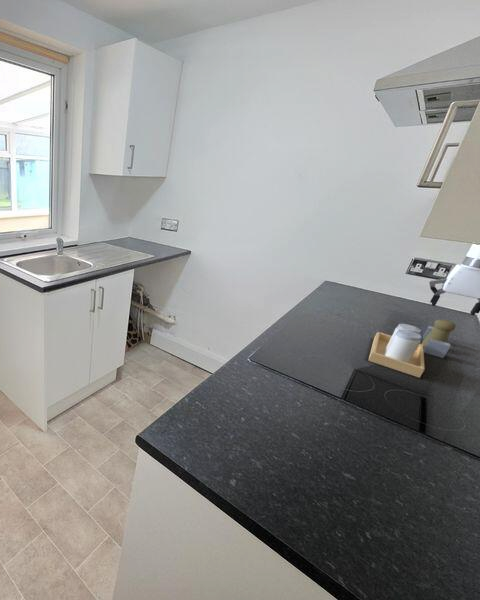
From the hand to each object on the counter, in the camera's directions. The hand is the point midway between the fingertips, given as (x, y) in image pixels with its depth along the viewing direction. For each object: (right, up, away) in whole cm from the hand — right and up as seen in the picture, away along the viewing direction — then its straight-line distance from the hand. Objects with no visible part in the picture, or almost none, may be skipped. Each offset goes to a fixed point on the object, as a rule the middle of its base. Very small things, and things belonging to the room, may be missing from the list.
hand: (452, 309), depth 112 cm
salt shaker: (-28, -18, -7) cm, 34 cm away
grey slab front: (-6, -16, +1) cm, 17 cm away
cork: (-1, -15, +6) cm, 16 cm away
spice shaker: (-23, -16, -3) cm, 28 cm away
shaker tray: (-23, -17, -2) cm, 28 cm away
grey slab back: (+5, -13, +11) cm, 17 cm away
